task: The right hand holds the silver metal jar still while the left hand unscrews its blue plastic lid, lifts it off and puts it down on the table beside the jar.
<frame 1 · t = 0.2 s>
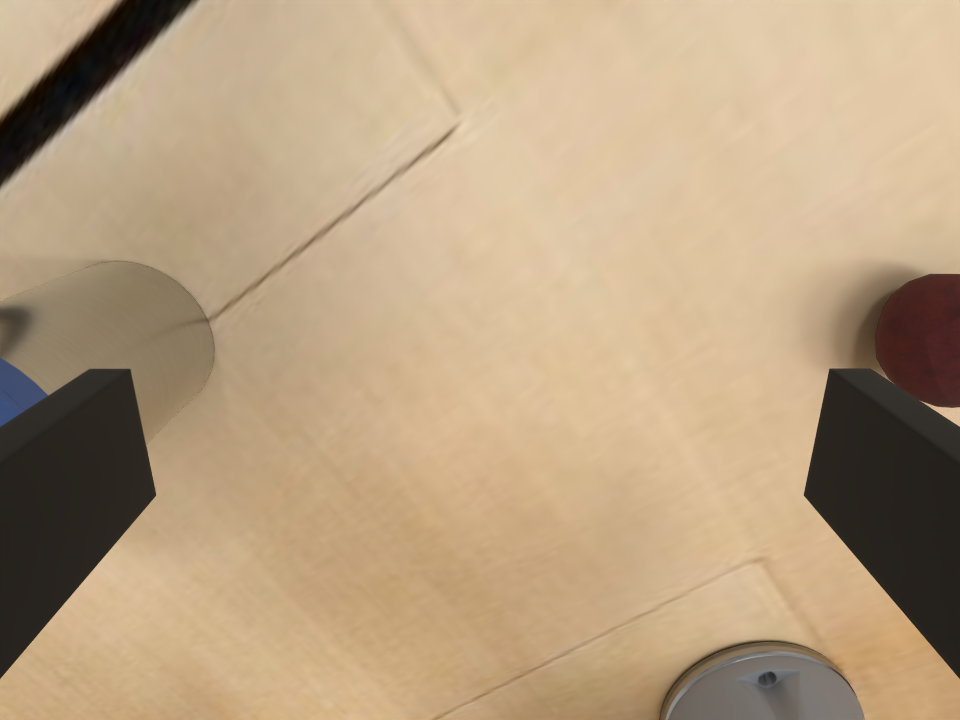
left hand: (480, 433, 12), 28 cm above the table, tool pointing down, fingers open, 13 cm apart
dark red ball: (907, 319, 41), on the table
jar: (133, 340, 41), on the table
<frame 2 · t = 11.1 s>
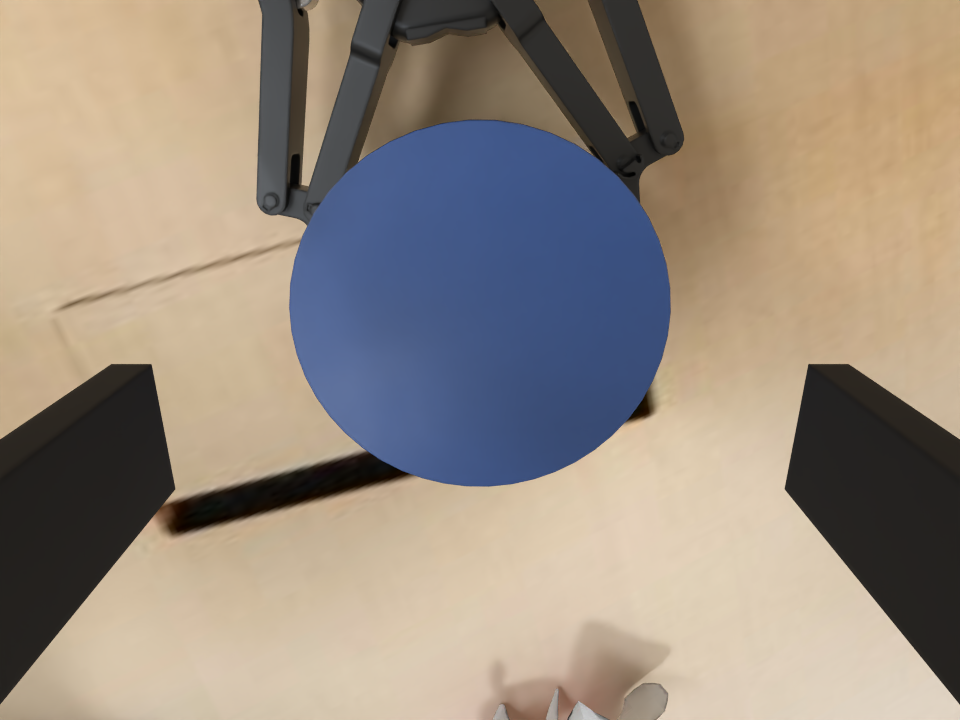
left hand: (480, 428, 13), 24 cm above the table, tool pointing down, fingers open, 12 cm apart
lid: (480, 318, 19), point 17 cm above the table, screwed on, not yet turned
fish: (556, 701, 47), on the table
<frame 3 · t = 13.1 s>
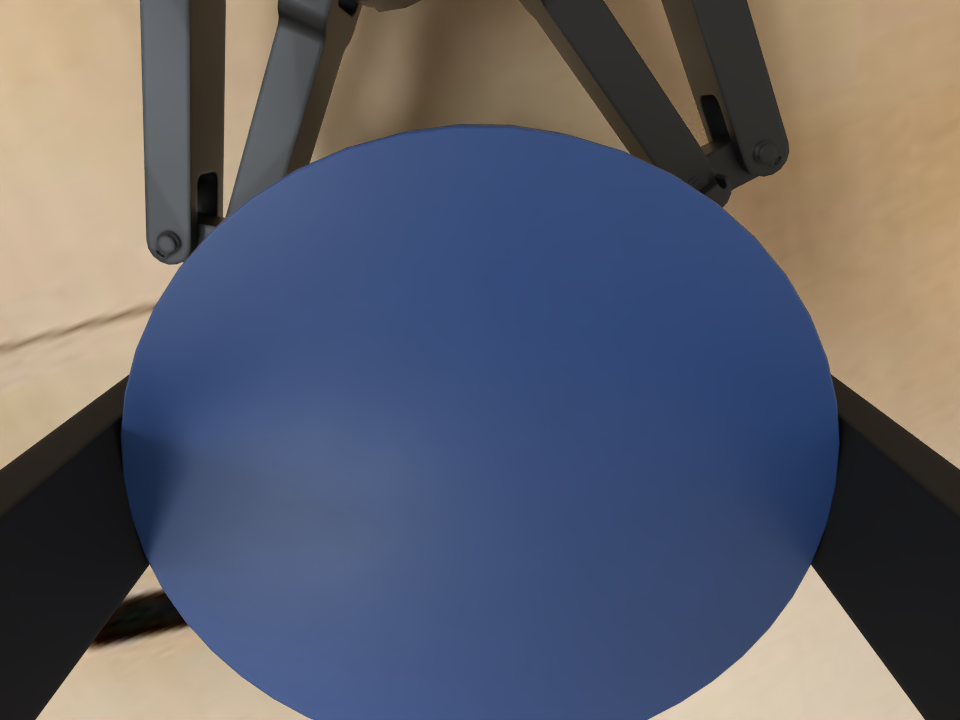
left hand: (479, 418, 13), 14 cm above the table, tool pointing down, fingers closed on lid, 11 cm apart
lid: (480, 489, 11), point 17 cm above the table, screwed on, not yet turned, touching left hand
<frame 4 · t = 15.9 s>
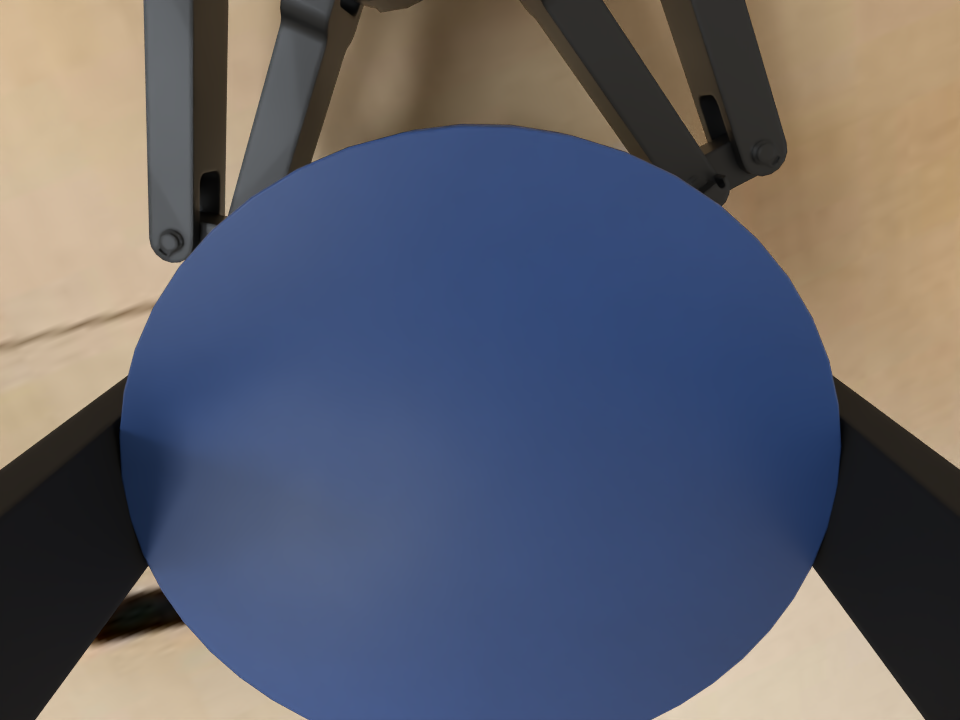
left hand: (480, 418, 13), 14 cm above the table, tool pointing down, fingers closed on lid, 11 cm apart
lid: (480, 491, 11), point 17 cm above the table, turned 67° so far, risen 0.2 cm, still on its thread, touching left hand
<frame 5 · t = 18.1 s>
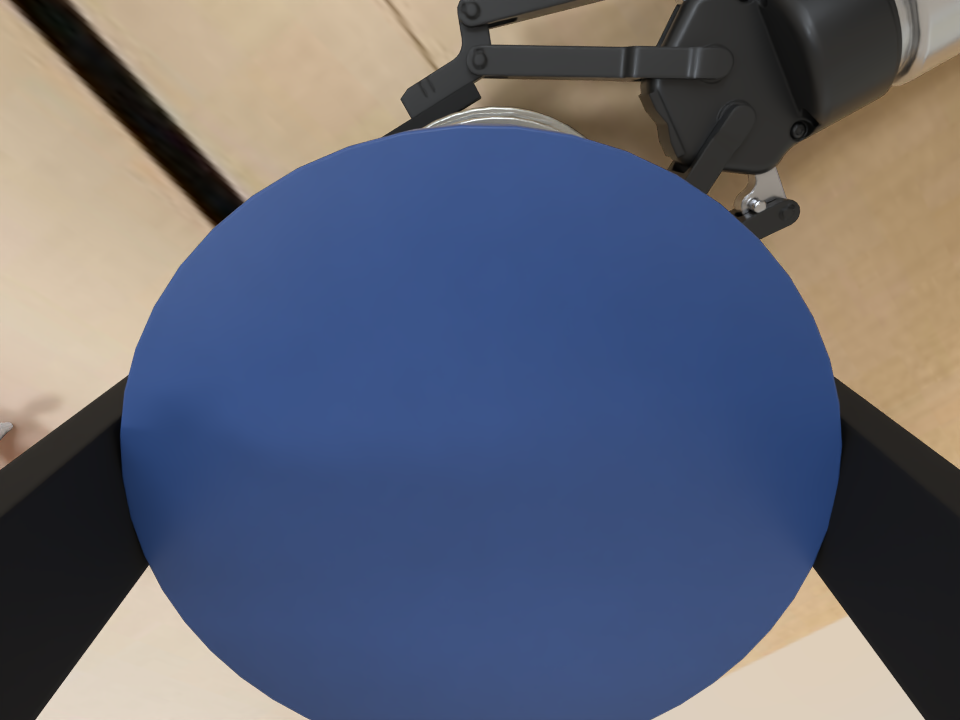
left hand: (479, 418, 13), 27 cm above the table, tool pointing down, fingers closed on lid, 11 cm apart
right hand: (418, 265, 32), fingers closed on jar, 10 cm apart
lid: (480, 490, 11), point 29 cm above the table, off its thread, touching left hand
jar: (490, 204, 38), on the table, touching right hand
when the left hand's fingers open (0 cm above the table, at t = 24.1 s): lid drops 1 cm, point 1 cm above the table.
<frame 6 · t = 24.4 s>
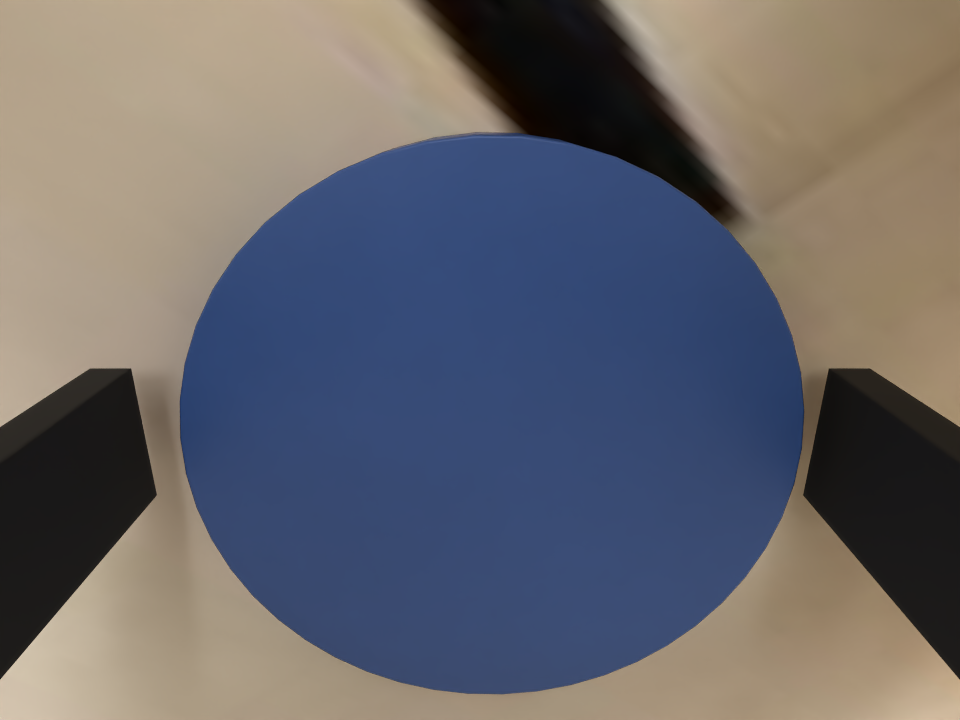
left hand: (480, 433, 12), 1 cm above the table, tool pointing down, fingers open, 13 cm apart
lid: (490, 452, 12), point 1 cm above the table, off its thread
when the right hand's fingers open (7 cm above the table, at t = 25.1 s): jar stays where it is, on the table.
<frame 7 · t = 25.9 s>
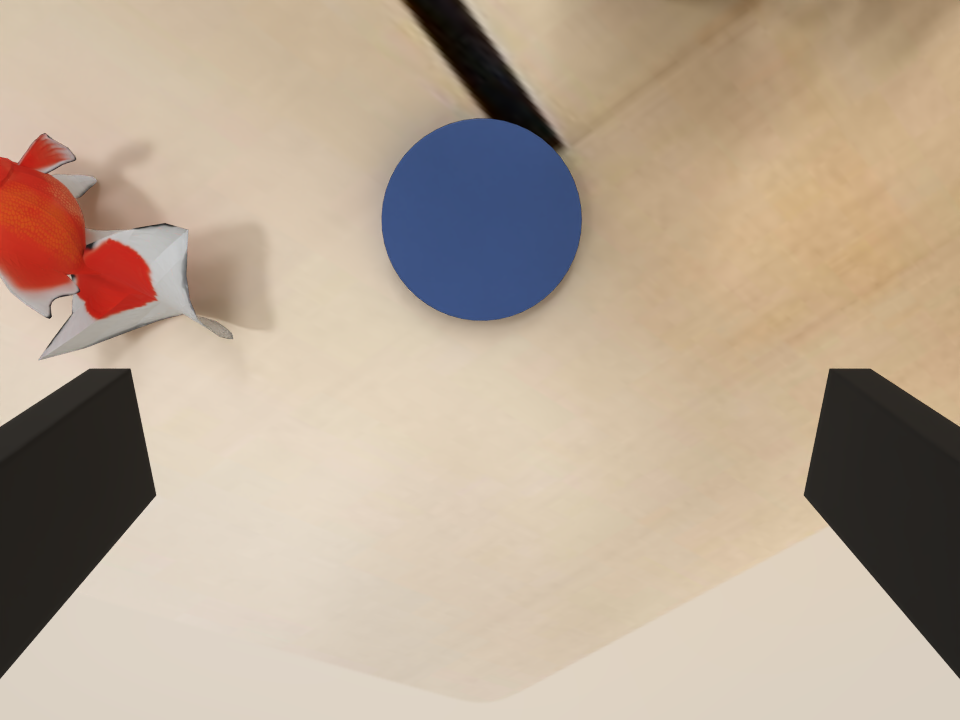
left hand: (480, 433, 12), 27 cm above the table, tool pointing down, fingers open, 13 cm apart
lid: (481, 224, 37), point 1 cm above the table, off its thread
fish: (135, 242, 39), on the table
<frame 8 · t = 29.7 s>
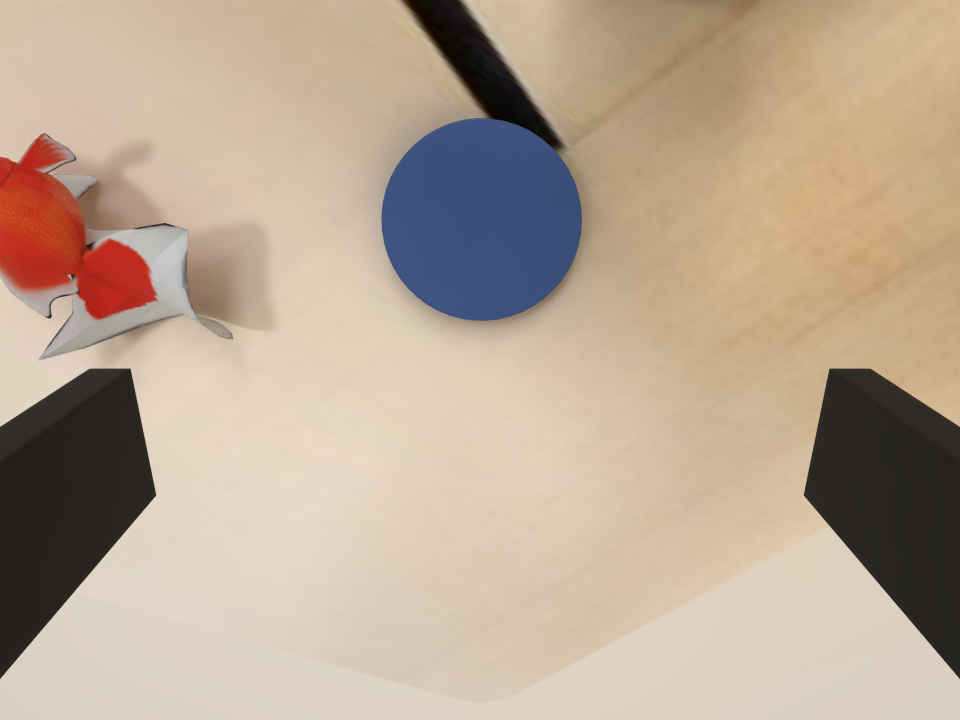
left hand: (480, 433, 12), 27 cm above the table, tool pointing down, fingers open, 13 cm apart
lid: (481, 224, 37), point 1 cm above the table, off its thread
fish: (135, 242, 39), on the table
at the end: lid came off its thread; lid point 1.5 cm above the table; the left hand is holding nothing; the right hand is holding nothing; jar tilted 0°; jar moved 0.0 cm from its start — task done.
